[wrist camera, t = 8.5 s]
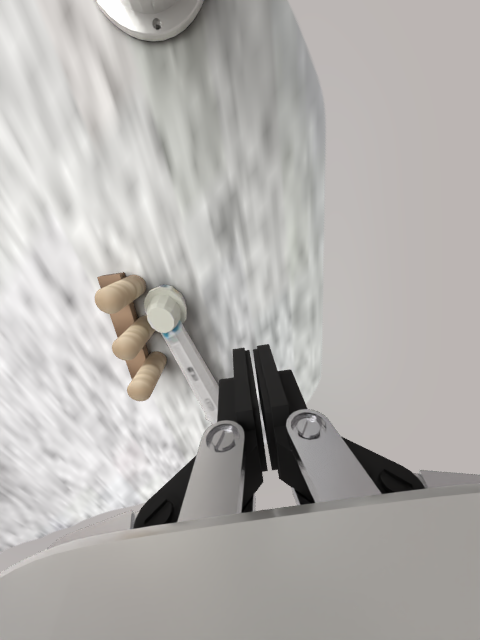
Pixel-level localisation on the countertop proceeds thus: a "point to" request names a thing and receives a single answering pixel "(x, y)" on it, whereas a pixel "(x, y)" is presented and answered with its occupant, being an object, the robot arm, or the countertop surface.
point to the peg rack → (131, 332)
